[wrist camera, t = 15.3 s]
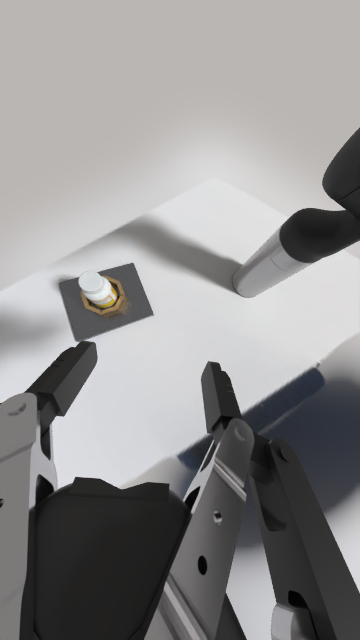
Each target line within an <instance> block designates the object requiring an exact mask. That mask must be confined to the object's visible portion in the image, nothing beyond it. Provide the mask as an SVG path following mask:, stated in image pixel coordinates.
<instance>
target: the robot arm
mask: <svg viewBox="0 0 360 640" xmlns="http://www.w3.org/2000/svg"><path fill="white" fill-rule="evenodd" d="M322 185H323V188H324V190H325V192H326V193H327V195H328V196H329V197H330V198H332V199H333V200H334V201H336V202H337V203H338V204H339V205H341V206H342V207H343V208H345V209H346V210H343V211H328V210H321V209H316V208H306V209H302V210H299V211H297V212H296V213H294V214H293V215H292V216H291V217H290V218H289V219H288V220H287V221H286V222H285V223H284V224H283V225H282V226H281V227H280V228H279V229H278V230H277V231H276V232H275V233H274V234H273V235H272V236H271V237H270V238H269V239H268V240H267V241H266V242H265V243H264V244H263V245H262V246H261V247H260V248H259V249H258V250H257V251H256V252H255V253H254V254H253V255H252V256H251V257H250V258H249V259H248V260H247V261H246V263H245V264H244V265H242V267H241V268H240V269H239V270H238V271H237V272H236V273H235V274H234V276H233V279H232V282H233V286H234V289H235V290H236V291H237V292H238V293H239V294H240V295H241V296H243V297H247V298H251V297H254V296H256V295H258V294H260V293H262V292H264V291H265V290H267V289H269V288H271V287H272V286H274V285H276V284H278V283H279V282H281V281H283V280H285V279H286V278H288V277H290V276H292V275H294V274H295V273H297V272H299V271H301V270H302V269H304V268H306V267H307V266H309V265H311V264H313V263H314V262H316V261H318V260H320V259H322V258H324V257H327V256H330V255H332V254H334V253H337V252H339V251H340V250H342V249H344V248H346V247H348V246H350V245H352V244H354V243H355V242H358V241H360V128H359V129H358V130H357V131H356V132H355V133H354V134H353V135H352V136H351V137H350V139H349V140H348V141H347V142H346V143H345V145H344V146H343V147H342V148H341V150H340V151H339V152H338V153H337V155H336V156H335V157H334V159H333V160H332V162H331V163H330V165H329V166H328V168H327V170H326V172H325V174H324V177H323V181H322ZM96 363H97V350H96V344H95V342H89V341H81V342H80V343H79V344H78V345H77V346H76V347H70V348H69V349H67V350H65V351H64V352H62V353H61V354H60V355H59V357H58V358H57V359H56V361H54V362H53V363H52V364H51V366H49V367H48V368H47V369H46V370H45V371H44V372H43V373H42V375H41V376H40V377H39V378H38V379H37V380H36V381H35V382H34V383H33V384H32V385H31V386H30V387H29V388H28V389H27V390H26V391H25V392H24V393H21V394H18V395H15V396H13V397H11V398H9V399H7V400H6V401H4V402H3V403H0V640H247V639H246V637H245V635H244V632H243V630H242V628H241V626H240V623H239V621H238V619H237V617H236V614H235V612H234V610H233V607H232V605H231V603H230V601H229V599H228V596H227V594H226V587H227V583H228V578H229V574H230V569H231V565H232V561H233V556H234V552H235V547H236V543H237V538H238V534H239V529H240V524H241V521H242V516H243V512H244V507H245V502H246V492H245V490H244V482H245V478H246V474H248V477H249V481H250V486H251V490H252V495H253V499H254V504H255V508H256V512H257V517H258V521H259V526H260V530H261V535H262V539H263V544H264V548H265V553H266V557H267V562H268V566H269V571H270V575H271V579H272V584H273V589H274V593H275V598H276V602H277V604H276V605H275V607H274V609H273V613H272V621H271V622H272V623H271V637H272V640H360V593H359V591H358V589H357V586H356V584H355V582H354V580H353V578H352V575H351V573H350V571H349V569H348V567H347V564H346V562H345V560H344V558H343V556H342V553H341V551H340V549H339V547H338V545H337V542H336V541H335V538H334V536H333V534H332V531H331V529H330V527H329V525H328V523H327V521H326V518H325V516H324V514H323V512H322V509H321V507H320V505H319V503H318V501H317V499H316V496H315V494H314V492H313V490H312V488H311V486H310V483H309V481H308V479H307V477H306V474H305V472H304V470H303V468H302V466H301V463H300V461H299V459H298V457H297V455H296V453H295V452H294V450H293V449H292V448H291V447H290V445H288V444H287V443H286V442H285V441H283V440H281V439H279V438H275V439H273V440H271V441H270V440H268V439H266V438H264V437H262V436H260V435H258V434H256V433H254V432H253V431H252V430H251V428H250V427H249V426H248V425H247V423H245V422H244V421H243V419H242V416H241V413H240V410H239V406H238V403H237V400H236V397H235V393H234V390H233V387H232V384H231V380H230V378H229V376H228V375H227V373H226V372H225V371H221V367H220V364H219V363H217V362H210V361H208V363H207V365H206V367H205V369H204V371H203V373H202V377H201V384H202V393H203V401H204V410H205V418H206V427H207V433H211V434H213V438H214V440H213V442H212V444H211V446H210V448H209V450H208V452H207V455H206V457H205V459H204V461H203V463H202V465H201V467H200V469H199V471H198V473H197V475H196V477H195V478H194V480H193V482H192V483H191V485H190V487H189V489H188V491H187V493H186V495H185V497H184V499H183V500H182V499H181V498H180V497H179V496H178V495H177V494H176V493H174V492H173V491H172V490H170V489H169V484H165V483H152V482H146V483H143V484H140V485H136V486H133V487H130V488H127V489H119V488H117V487H115V486H113V485H111V484H109V483H107V482H105V481H103V480H101V479H96V478H82V477H75V479H74V482H73V483H71V484H69V485H66V486H64V487H62V488H60V489H58V481H57V472H56V468H55V464H54V456H53V436H52V421H53V420H54V418H55V417H56V416H63V417H64V416H65V414H66V412H67V411H68V409H69V408H70V406H71V404H72V403H73V401H74V399H75V398H76V396H77V395H78V393H79V391H80V390H81V388H82V387H83V385H84V383H85V382H86V380H87V378H88V377H89V375H90V374H91V372H92V370H93V369H94V367H95V365H96Z"/></svg>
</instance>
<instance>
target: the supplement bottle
mask: <svg viewBox="0 0 360 640" xmlns="http://www.w3.org/2000/svg"><path fill="white" fill-rule="evenodd" d="M79 286H80V287H81V288H82V292H83V294H84V295H85V296H86V297H87V298H88V299H89V300H90V301H92V302H93V303H94V304H96V305H97V306H98V307H99V308H101V309H104V310H105V309H108V308H111V307H114V306H115V305H116V303H117V301H118V299H119V297H118V294H117V293H116V291H115V290H114V288H113V287H112V285H111V284H110V282H109V281H108V280H107V279H106V278H105V277H103V276H100V275H99V274H98V273H97V272H93V271H88V272H85V273H83V274H82V275H81V276H80V278H79Z"/></svg>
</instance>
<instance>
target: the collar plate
mask: <svg viewBox="0 0 360 640" xmlns="http://www.w3.org/2000/svg"><path fill="white" fill-rule="evenodd" d="M97 273H98V274H99V275H100V276H103V277H105V278H106V279H107V280H108V281H109V282H110V284H111V285H112V287H113V288H114V290H115V291H116V293H117V294H118V297H119V299H118V301H117V303H116V305H115V306H114V307H111V308H108V309H105V310H104V309H101V308H99V307H98V306H97V305H96V304H94V303H93V302H92V301H90V300H89V299H88V298H87V297H86V296H85V295H84V294H83V292H82V288H81V287H80V286H79V278H80V277H79V278H75V279H72V280H68V281H64V282H60V283H59V284H60V288H61V291H62V294H63V297H64V301H65V304H66V307H67V310H68V314H69V317H70V320H71V323H72V327H73V330H74V333H75V336H76V340H77V342H81V341H84V340H87V339H89V338H92V337H95V336H98V335H100V334H103V333H106V332H109V331H111V330H114V329H117V328H120V327H123V326H125V325H128V324H131V323H134V322H136V321H139V320H142V319H145V318H147V317H150V316H153V315H154V314H153V311H152V309H151V306H150V304H149V301H148V299H147V296H146V294H145V291H144V289H143V286H142V284H141V281H140V278H139V276H138V273H137V271H136V268H135V266H134V263H130V264H127V265H123V266H119V267H116V268H112V269H108V270H105V271H101V272H97Z"/></svg>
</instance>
